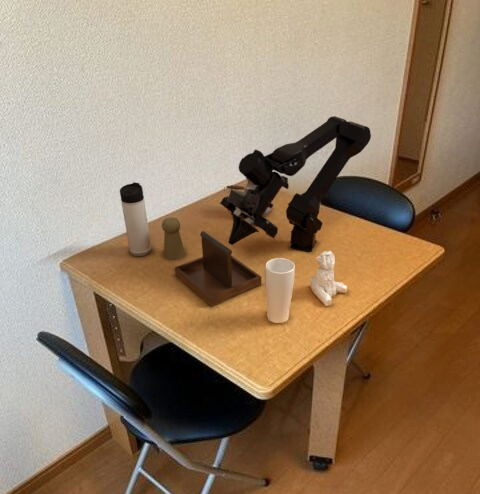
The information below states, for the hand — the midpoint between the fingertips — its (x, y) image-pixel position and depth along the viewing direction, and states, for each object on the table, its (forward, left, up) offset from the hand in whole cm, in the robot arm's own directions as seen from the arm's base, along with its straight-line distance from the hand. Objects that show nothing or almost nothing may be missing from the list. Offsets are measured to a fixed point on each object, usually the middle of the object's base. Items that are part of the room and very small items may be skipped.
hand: (230, 243), depth 130 cm
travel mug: (+30, -3, -10) cm, 32 cm away
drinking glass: (-18, +13, -10) cm, 25 cm away
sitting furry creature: (-26, -1, -10) cm, 28 cm away
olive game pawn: (+20, -5, -10) cm, 23 cm away
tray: (+2, +4, -10) cm, 11 cm away
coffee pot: (+8, -33, -10) cm, 35 cm away
